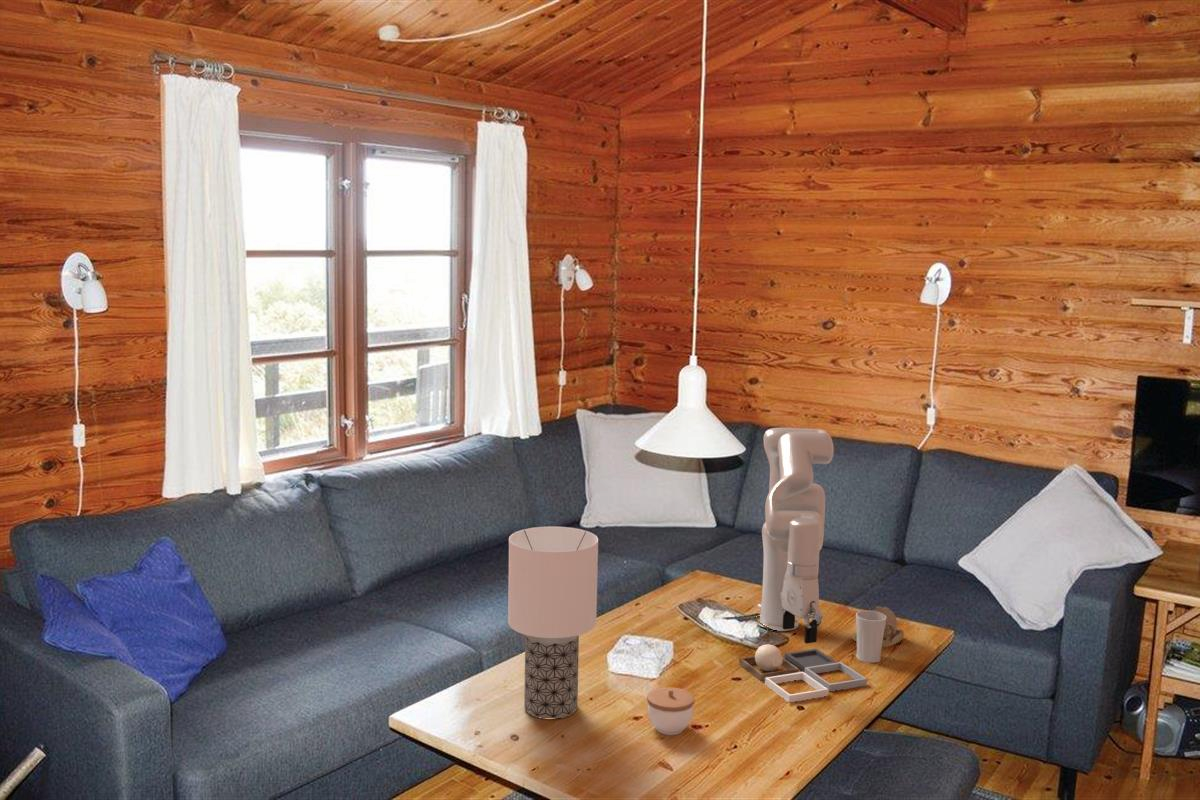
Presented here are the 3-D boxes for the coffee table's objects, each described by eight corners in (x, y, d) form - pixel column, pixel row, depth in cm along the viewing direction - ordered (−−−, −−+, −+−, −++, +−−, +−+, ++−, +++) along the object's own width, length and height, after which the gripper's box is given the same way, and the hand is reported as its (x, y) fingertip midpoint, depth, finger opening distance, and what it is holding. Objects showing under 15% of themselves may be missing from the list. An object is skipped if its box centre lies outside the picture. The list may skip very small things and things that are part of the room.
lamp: (554, 682, 261) (556, 521, 255) (612, 709, 247) (616, 540, 241) (489, 706, 247) (490, 537, 241) (547, 737, 233) (550, 557, 226)
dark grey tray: (784, 658, 279) (784, 653, 279) (815, 654, 283) (816, 648, 283) (805, 673, 270) (805, 667, 270) (837, 668, 274) (837, 662, 274)
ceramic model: (873, 651, 287) (876, 616, 285) (844, 637, 296) (846, 603, 295) (910, 642, 294) (912, 608, 292) (880, 629, 303) (882, 596, 302)
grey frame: (804, 674, 270) (804, 667, 269) (840, 668, 274) (840, 662, 274) (829, 691, 259) (829, 684, 259) (866, 685, 264) (866, 678, 263)
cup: (880, 653, 285) (883, 611, 283) (885, 664, 277) (888, 621, 275) (851, 651, 286) (853, 609, 284) (855, 663, 278) (858, 620, 276)
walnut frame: (739, 664, 275) (739, 658, 275) (775, 659, 279) (775, 652, 279) (761, 681, 265) (761, 674, 264) (798, 675, 269) (799, 668, 269)
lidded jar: (679, 744, 231) (680, 704, 229) (637, 731, 236) (638, 692, 235) (701, 726, 240) (702, 687, 238) (660, 714, 245) (661, 676, 244)
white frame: (764, 684, 263) (765, 677, 263) (802, 678, 267) (802, 671, 267) (789, 702, 253) (789, 695, 252) (827, 696, 257) (828, 689, 257)
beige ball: (770, 678, 267) (771, 653, 266) (749, 668, 273) (750, 644, 272) (787, 671, 271) (789, 647, 270) (766, 662, 277) (768, 638, 276)
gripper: (770, 560, 262) (767, 625, 264) (809, 581, 246) (805, 650, 248) (796, 557, 265) (792, 621, 267) (836, 578, 249) (832, 646, 251)
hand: (799, 635), depth 258 cm, fingers open, 9 cm apart
